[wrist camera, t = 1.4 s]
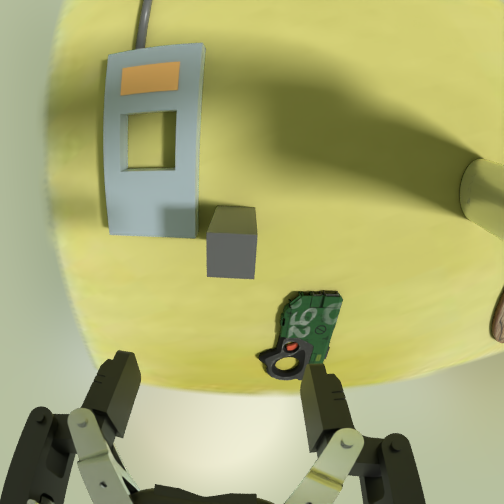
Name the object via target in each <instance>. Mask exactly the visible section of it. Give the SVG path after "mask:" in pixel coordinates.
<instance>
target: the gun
mask: <svg viewBox="0 0 504 504" xmlns="http://www.w3.org/2000/svg"><path fill="white" fill-rule="evenodd" d="M342 301H343V299H342V297H341V295H340V294H339V293H338V291H336V294H326V293H325V291H323V295H322V296H321V291H319V294H314V293H313V291H312V292H310V293H309V296H304V294H303V291H302V292H301V293H300V292H299V296H298V297H297V298H296V299H294V300H293V301H291V300H290V299H289V303H290V304H289V303H288V304H287V305H285V307H284V310H283V313H282V314H281V319H280V324H281V330H280V335H279V340H278V343H277V347H276V348H274V349H269V350H267V351H265V352H262V353H260V354H259V360H260V361H261V362H263V363H265V365H266V366H267V367H266V369H267V373H268V374H269V375H270V376H271V377H272V378H273V377H274V378H276V379H279V380H292V379H298V380H302V379H303V375H304V372H305V368H306V365H307V364H320V363H323V361H324V359H326V357H327V353H328V351H329V348H330V347H329V343H330V339H331V336H332V333H333V330H334V328H335V325H336V321H337V318H338V315H339V311H340V308H341V305H342ZM283 318H284V321H283ZM288 342H294V343H292V344H288V345H287V347H285V346H284V345H285V344H286V343H288ZM285 357H294V358H296V359H298V360H299V364H298V365H297V366H296V367H295V368H293V369H291V370H280V369H278V368H276V366H275V364H276V362H277V361H278V360H280V359H282V358H285Z"/></svg>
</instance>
